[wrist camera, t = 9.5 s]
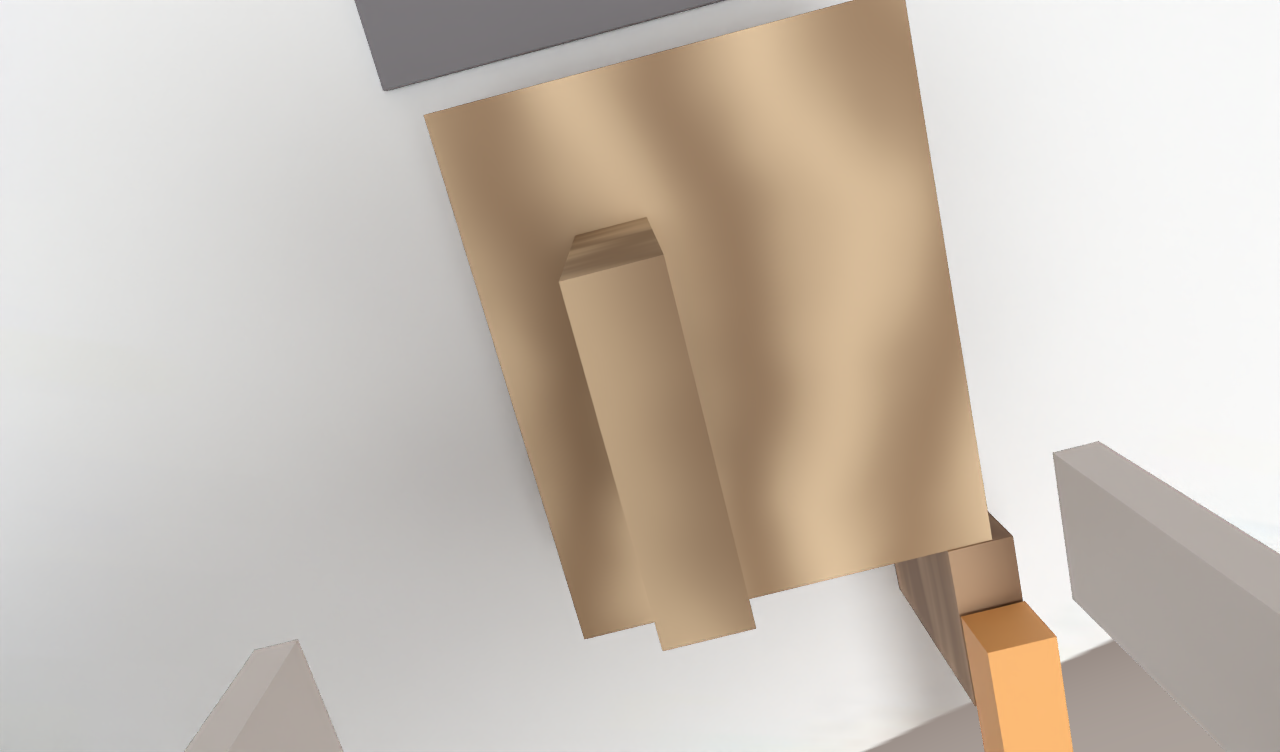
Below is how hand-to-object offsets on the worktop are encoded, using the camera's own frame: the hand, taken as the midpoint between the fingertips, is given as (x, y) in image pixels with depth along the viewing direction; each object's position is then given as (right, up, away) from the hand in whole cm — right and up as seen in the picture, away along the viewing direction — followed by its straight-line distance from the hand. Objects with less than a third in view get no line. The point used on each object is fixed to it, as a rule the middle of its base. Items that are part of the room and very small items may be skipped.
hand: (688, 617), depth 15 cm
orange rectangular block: (+14, -11, +21) cm, 28 cm away
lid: (+2, +6, +19) cm, 20 cm away
